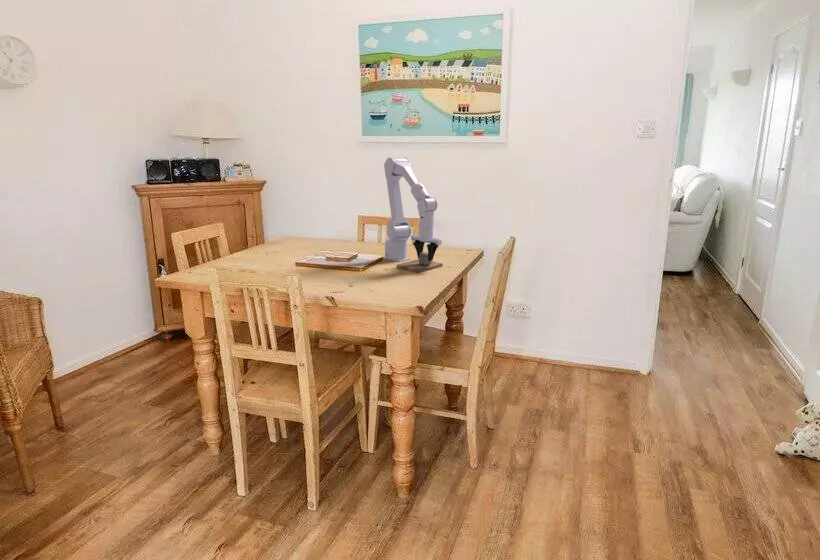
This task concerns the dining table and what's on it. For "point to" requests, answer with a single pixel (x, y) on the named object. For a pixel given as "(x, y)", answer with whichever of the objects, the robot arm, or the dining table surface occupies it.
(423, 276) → the dining table surface
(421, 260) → the grey control knob
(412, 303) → the dining table surface
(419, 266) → the stud board
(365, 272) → the dining table surface
